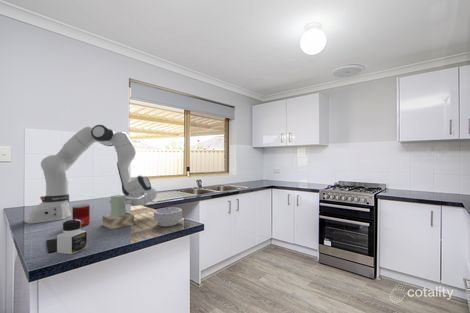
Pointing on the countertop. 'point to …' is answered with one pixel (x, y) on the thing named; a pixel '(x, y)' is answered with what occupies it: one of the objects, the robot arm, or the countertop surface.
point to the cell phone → (52, 245)
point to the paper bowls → (167, 216)
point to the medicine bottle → (71, 238)
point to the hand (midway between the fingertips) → (116, 202)
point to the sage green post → (117, 205)
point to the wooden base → (118, 221)
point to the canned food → (81, 213)
